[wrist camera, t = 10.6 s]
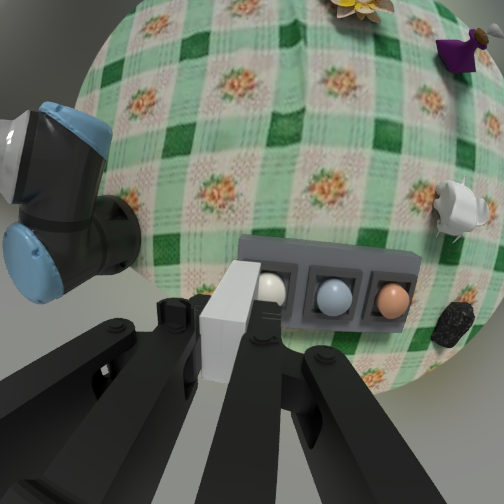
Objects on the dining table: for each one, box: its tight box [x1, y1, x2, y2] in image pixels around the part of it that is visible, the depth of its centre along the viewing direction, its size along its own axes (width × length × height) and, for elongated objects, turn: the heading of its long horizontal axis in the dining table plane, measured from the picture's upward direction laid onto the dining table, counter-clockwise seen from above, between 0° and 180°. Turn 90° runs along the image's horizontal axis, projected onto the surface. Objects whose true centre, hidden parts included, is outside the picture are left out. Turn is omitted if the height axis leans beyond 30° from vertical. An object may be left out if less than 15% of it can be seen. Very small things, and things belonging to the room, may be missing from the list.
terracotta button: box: [375, 283, 409, 319], centre depth 38 cm, size 5×5×2 cm
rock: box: [431, 302, 475, 348], centre depth 42 cm, size 7×10×6 cm
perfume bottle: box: [436, 24, 504, 74], centre depth 22 cm, size 8×8×18 cm
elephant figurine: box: [433, 176, 489, 243], centre depth 35 cm, size 10×12×9 cm
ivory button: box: [258, 272, 285, 306], centre depth 40 cm, size 5×5×2 cm
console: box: [238, 234, 422, 333], centre depth 42 cm, size 30×14×6 cm, turn 86°
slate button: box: [316, 278, 352, 316], centre depth 39 cm, size 5×5×2 cm
